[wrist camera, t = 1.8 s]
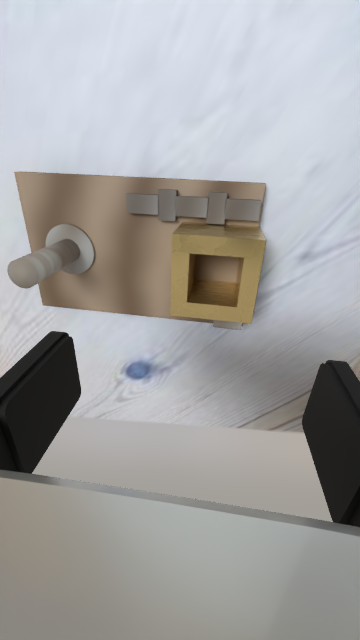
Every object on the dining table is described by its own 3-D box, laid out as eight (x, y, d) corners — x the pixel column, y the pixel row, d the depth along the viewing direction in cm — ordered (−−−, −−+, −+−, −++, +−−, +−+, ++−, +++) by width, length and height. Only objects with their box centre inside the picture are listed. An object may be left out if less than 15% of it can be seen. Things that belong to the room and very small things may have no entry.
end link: (258, 226, 22) (266, 240, 18) (247, 296, 25) (251, 323, 21) (182, 221, 23) (172, 233, 18) (180, 290, 26) (170, 315, 21)
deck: (264, 183, 22) (281, 189, 14) (241, 320, 27) (246, 373, 20) (23, 171, 24) (-64, 172, 17) (49, 300, 30) (-8, 342, 23)
